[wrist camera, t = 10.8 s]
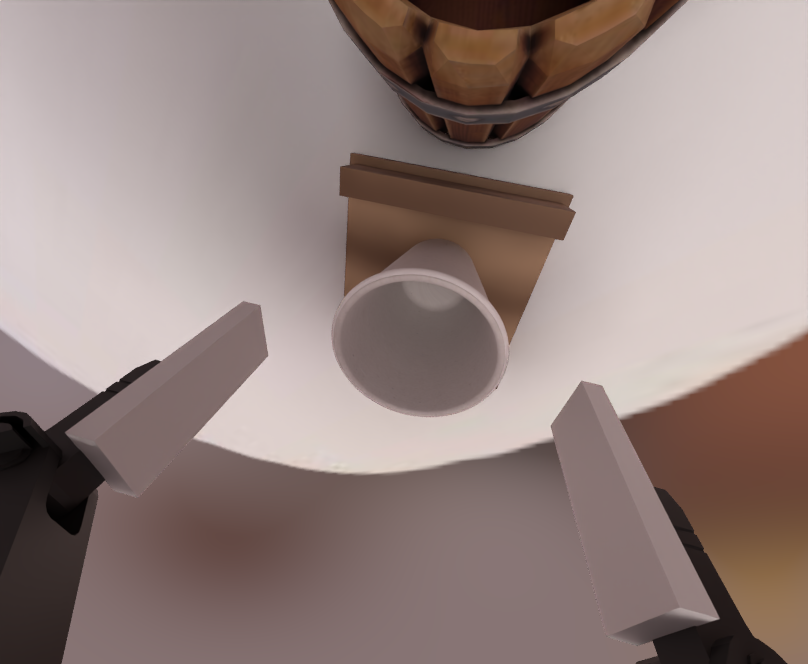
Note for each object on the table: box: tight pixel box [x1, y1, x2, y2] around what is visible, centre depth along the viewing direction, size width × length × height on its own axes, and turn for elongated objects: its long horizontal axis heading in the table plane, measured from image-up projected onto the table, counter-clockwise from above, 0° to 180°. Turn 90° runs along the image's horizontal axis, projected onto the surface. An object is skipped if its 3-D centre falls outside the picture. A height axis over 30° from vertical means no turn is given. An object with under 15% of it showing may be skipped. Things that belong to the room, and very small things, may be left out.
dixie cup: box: [332, 239, 509, 417], centre depth 18 cm, size 8×8×10 cm
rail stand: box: [340, 153, 576, 389], centre depth 21 cm, size 14×14×4 cm
